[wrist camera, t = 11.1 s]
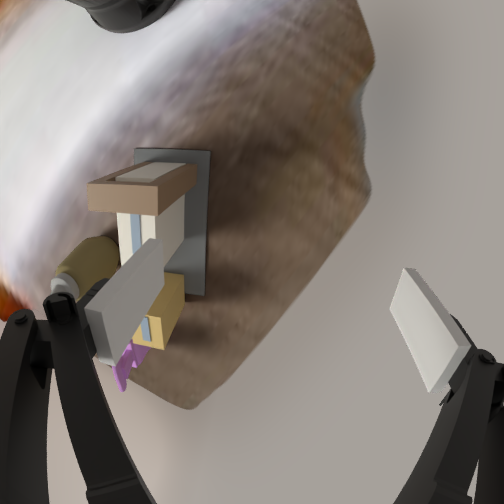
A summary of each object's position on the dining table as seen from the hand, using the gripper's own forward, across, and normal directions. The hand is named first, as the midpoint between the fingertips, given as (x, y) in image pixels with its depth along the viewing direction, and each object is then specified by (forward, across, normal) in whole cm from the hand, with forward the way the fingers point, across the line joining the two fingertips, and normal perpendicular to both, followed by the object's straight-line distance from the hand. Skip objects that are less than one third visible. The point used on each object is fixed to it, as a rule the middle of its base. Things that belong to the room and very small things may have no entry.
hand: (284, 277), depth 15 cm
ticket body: (+28, -16, -5) cm, 33 cm away
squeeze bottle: (+29, -29, -15) cm, 43 cm away
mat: (+29, -16, -9) cm, 34 cm away
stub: (+28, -16, -20) cm, 38 cm away
